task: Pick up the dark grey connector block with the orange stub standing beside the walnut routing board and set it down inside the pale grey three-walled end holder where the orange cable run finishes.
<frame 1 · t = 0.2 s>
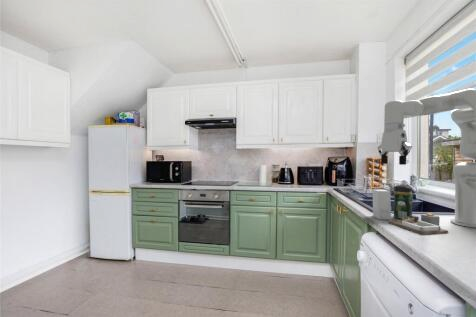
hand: (393, 164, 108), 31 cm above the counter, tool pointing down, fingers open, 9 cm apart
routing board: (416, 227, 110), on the counter
skincare box: (381, 218, 128), on the counter
coffee jar: (402, 218, 128), on the counter
end holder: (420, 229, 107), resting on routing board
connector block: (429, 225, 114), on the counter
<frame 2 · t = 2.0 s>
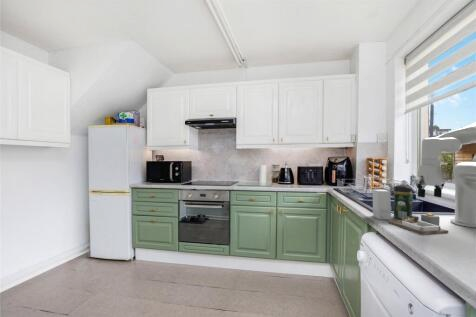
hand: (429, 196, 114), 14 cm above the counter, tool pointing down, fingers open, 9 cm apart
nothing on the counter moved.
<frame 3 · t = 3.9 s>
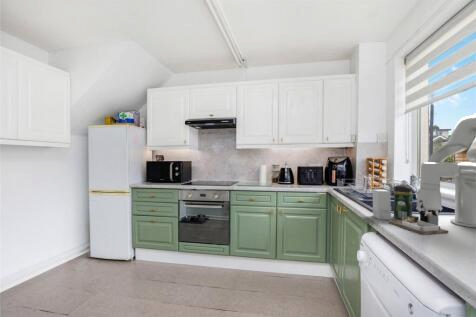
hand: (428, 222, 114), 1 cm above the counter, tool pointing down, fingers closed on connector block, 5 cm apart
connector block: (428, 225, 114), on the counter, touching gripper
everything else where it was.
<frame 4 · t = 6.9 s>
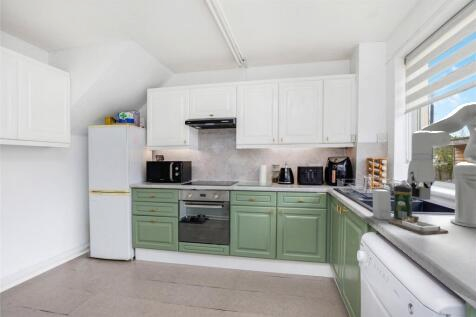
hand: (420, 196, 107), 16 cm above the counter, tool pointing down, fingers closed on connector block, 5 cm apart
connector block: (420, 198, 107), point 15 cm above the counter, touching gripper
everything else where it was.
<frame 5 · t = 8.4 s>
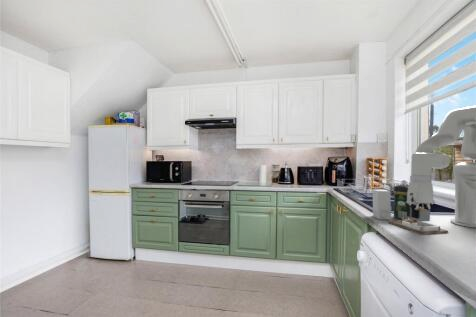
hand: (420, 217, 107), 6 cm above the counter, tool pointing down, fingers closed on connector block, 5 cm apart
connector block: (419, 219, 107), point 5 cm above the counter, touching gripper
everything else where it was.
when the fingers open (4 cm above the counter, at t = 9.7 s): connector block drops 2 cm, resting on routing board.
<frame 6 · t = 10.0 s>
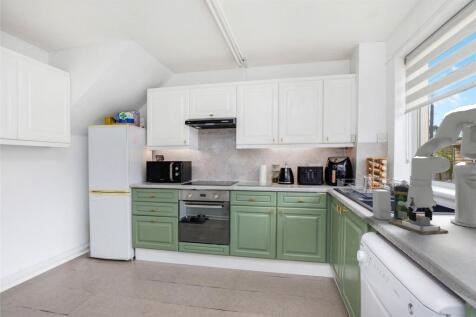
hand: (420, 220, 107), 5 cm above the counter, tool pointing down, fingers open, 8 cm apart
connector block: (420, 227, 107), point 1 cm above the counter, touching routing board
everything else where it was.
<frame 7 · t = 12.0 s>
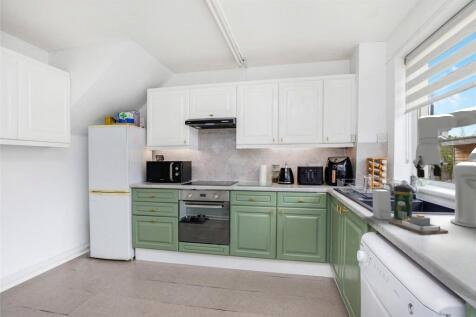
hand: (429, 176, 111), 25 cm above the counter, tool pointing down, fingers open, 9 cm apart
nothing on the counter moved.
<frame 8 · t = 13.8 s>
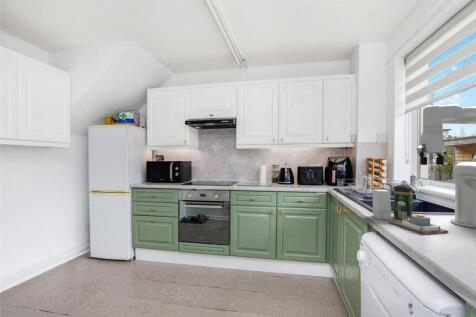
hand: (431, 164, 114), 30 cm above the counter, tool pointing down, fingers open, 9 cm apart
nothing on the counter moved.
at the end: connector block 0.1 cm off-centre on the end holder, point 1.0 cm above the end holder's base; connector block tilted 0°; the gripper is holding nothing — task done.
